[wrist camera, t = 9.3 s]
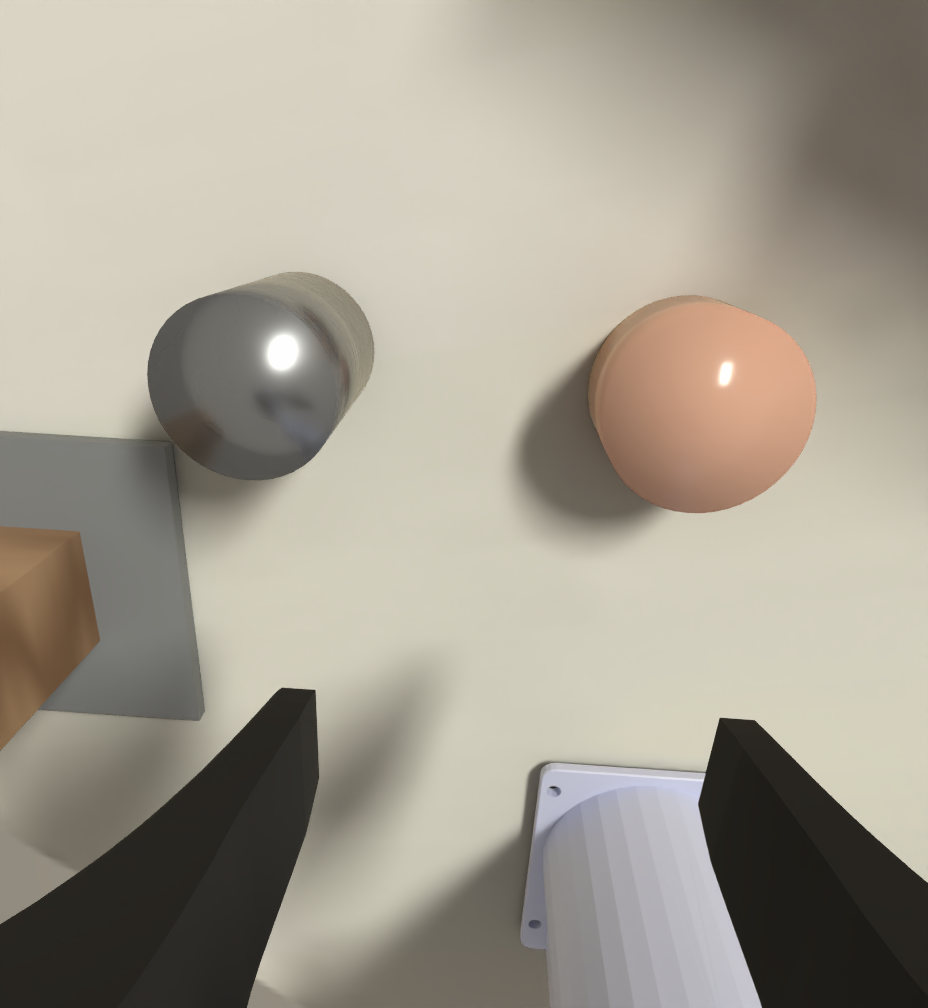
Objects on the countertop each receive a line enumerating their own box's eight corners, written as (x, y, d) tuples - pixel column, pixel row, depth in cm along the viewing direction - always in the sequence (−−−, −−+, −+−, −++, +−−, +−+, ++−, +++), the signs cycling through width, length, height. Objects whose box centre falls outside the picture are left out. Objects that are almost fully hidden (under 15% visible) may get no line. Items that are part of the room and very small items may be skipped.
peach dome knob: (747, 477, 20) (787, 519, 17) (576, 465, 20) (590, 505, 17) (788, 301, 18) (842, 317, 15) (600, 289, 18) (619, 303, 15)
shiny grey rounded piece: (374, 421, 20) (338, 485, 15) (236, 413, 20) (159, 474, 15) (374, 276, 18) (334, 299, 14) (225, 267, 18) (135, 287, 14)
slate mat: (204, 711, 24) (199, 721, 24) (-74, 691, 24) (-85, 701, 24) (171, 441, 20) (164, 447, 20) (-162, 421, 20) (-176, 425, 20)
